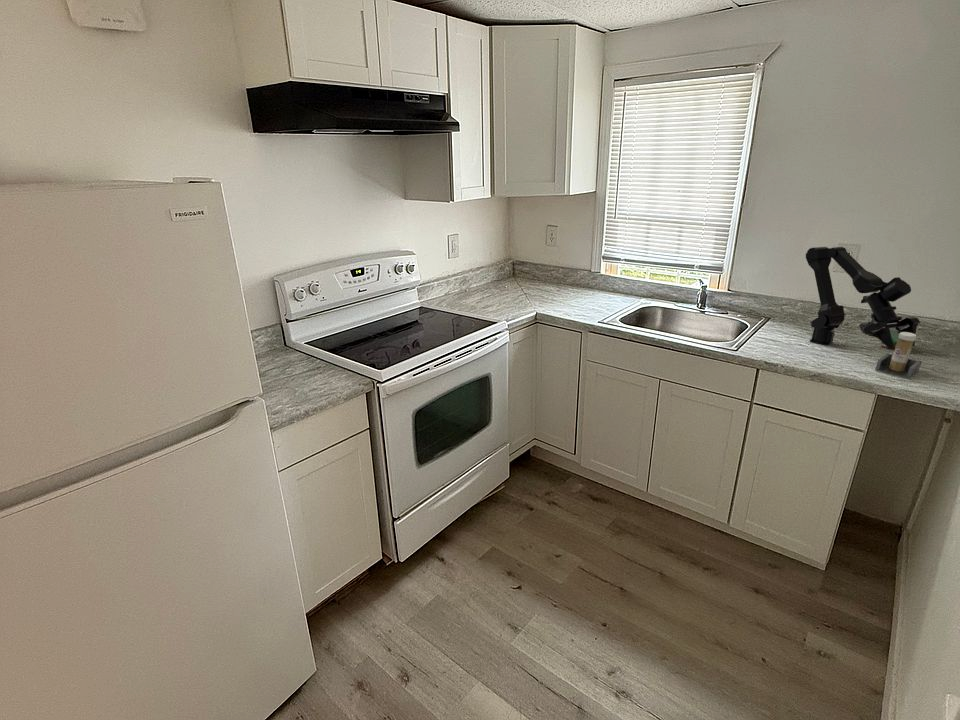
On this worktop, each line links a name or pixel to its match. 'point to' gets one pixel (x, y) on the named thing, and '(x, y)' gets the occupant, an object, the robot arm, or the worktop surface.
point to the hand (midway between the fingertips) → (902, 347)
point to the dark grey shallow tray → (908, 373)
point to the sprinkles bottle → (902, 351)
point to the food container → (894, 338)
